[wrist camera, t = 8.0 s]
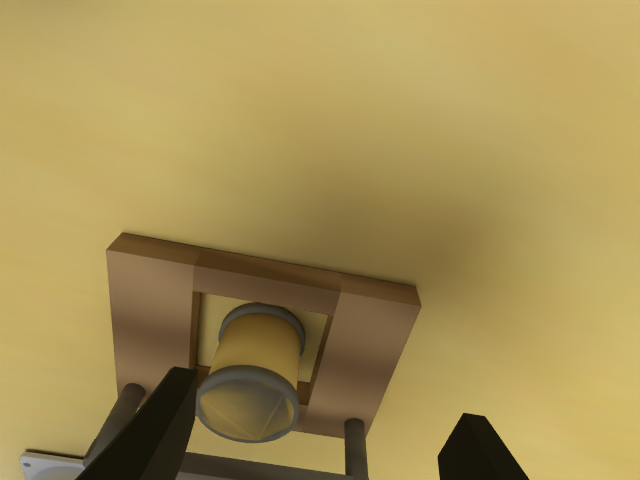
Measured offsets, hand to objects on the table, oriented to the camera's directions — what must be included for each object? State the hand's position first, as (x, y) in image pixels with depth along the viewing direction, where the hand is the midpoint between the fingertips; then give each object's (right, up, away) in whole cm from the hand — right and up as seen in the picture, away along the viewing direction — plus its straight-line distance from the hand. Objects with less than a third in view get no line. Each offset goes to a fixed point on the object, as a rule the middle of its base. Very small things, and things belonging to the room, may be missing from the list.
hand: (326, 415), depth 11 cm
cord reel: (-3, -1, +12) cm, 12 cm away
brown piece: (-4, -1, +12) cm, 13 cm away
